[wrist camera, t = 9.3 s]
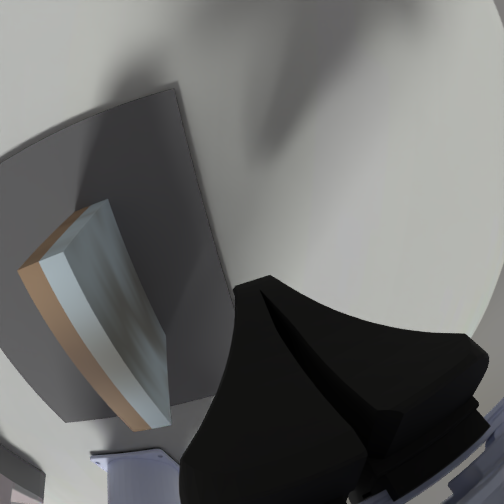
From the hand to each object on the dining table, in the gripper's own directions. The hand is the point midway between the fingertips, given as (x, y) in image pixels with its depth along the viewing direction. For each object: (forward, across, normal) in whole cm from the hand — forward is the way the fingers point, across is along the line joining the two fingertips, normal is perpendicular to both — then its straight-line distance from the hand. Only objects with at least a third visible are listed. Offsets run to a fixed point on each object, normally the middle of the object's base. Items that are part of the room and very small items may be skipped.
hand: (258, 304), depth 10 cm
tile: (+5, +6, 0) cm, 7 cm away
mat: (+5, +9, +1) cm, 10 cm away
